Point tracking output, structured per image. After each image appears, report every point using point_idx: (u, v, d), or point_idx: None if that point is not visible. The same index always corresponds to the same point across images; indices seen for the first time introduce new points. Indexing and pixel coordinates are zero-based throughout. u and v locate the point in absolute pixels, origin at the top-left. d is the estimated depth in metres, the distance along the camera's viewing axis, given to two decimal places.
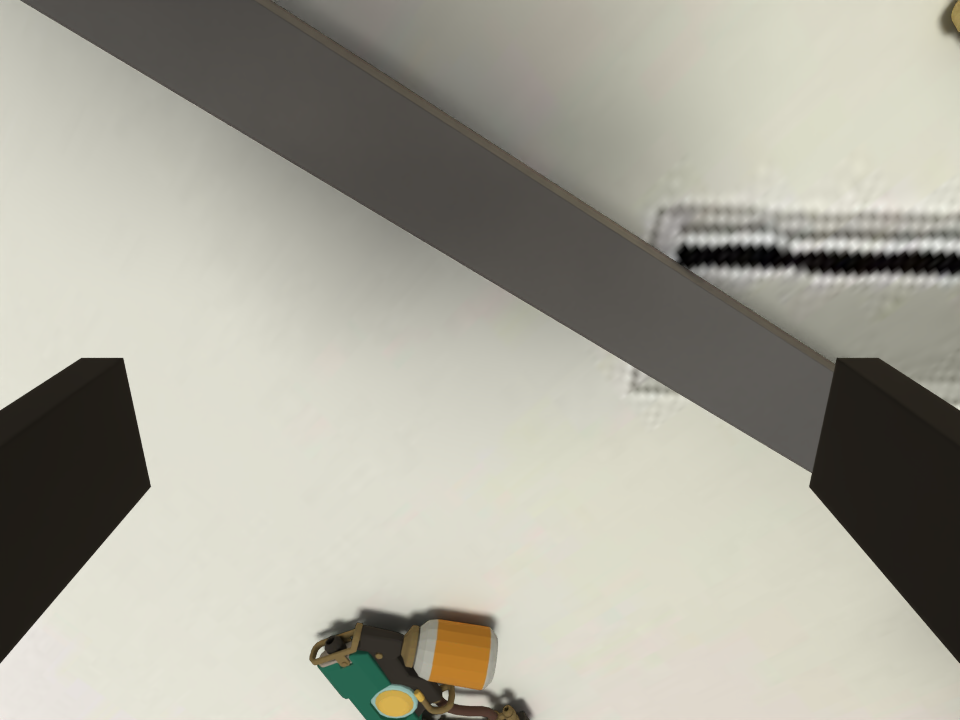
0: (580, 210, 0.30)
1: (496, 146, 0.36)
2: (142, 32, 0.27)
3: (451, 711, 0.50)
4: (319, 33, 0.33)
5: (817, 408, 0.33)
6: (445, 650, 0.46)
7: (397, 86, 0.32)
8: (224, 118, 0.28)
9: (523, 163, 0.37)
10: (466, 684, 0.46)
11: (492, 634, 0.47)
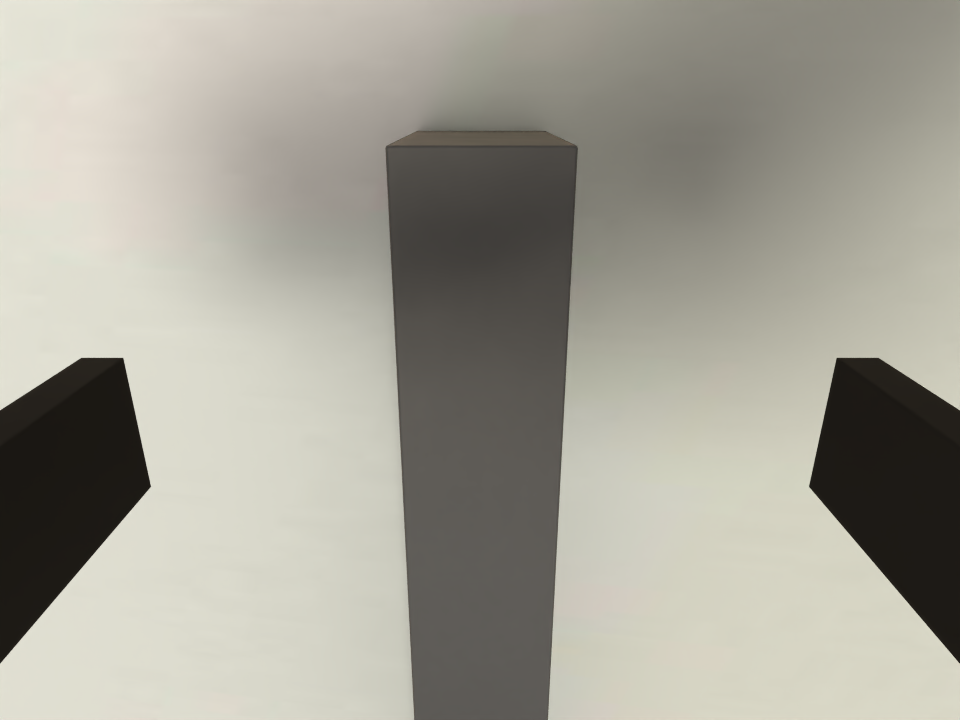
0: None
1: None
2: (452, 635, 0.23)
3: None
4: None
5: None
6: None
7: None
8: None
9: None
10: None
11: None
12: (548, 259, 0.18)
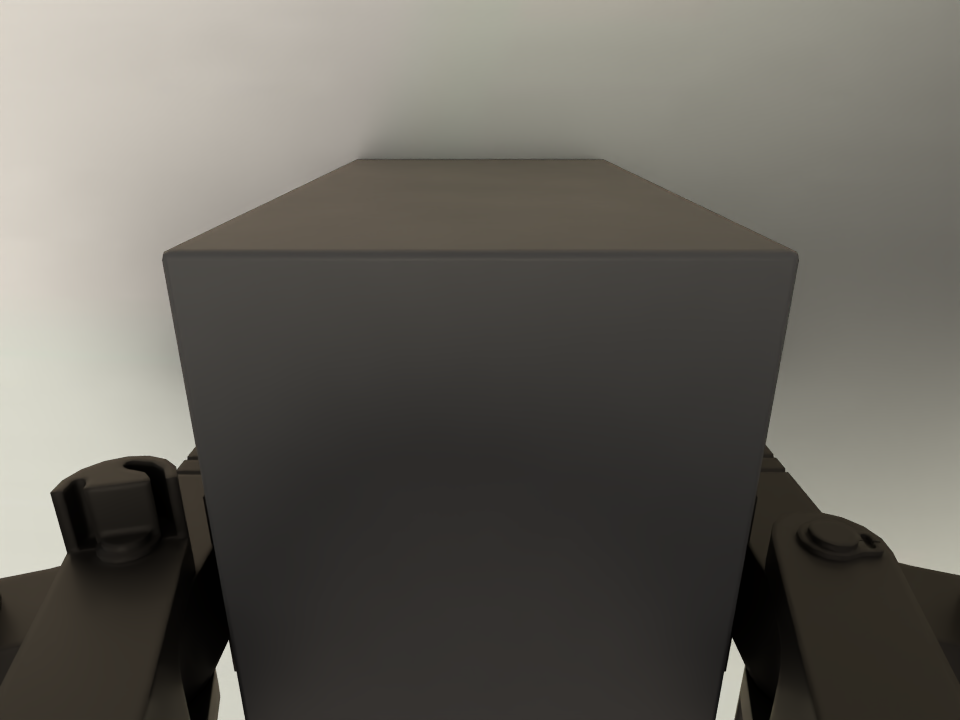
0: None
1: None
2: None
3: None
4: None
5: None
6: None
7: None
8: None
9: None
10: None
11: None
12: (677, 566, 0.06)
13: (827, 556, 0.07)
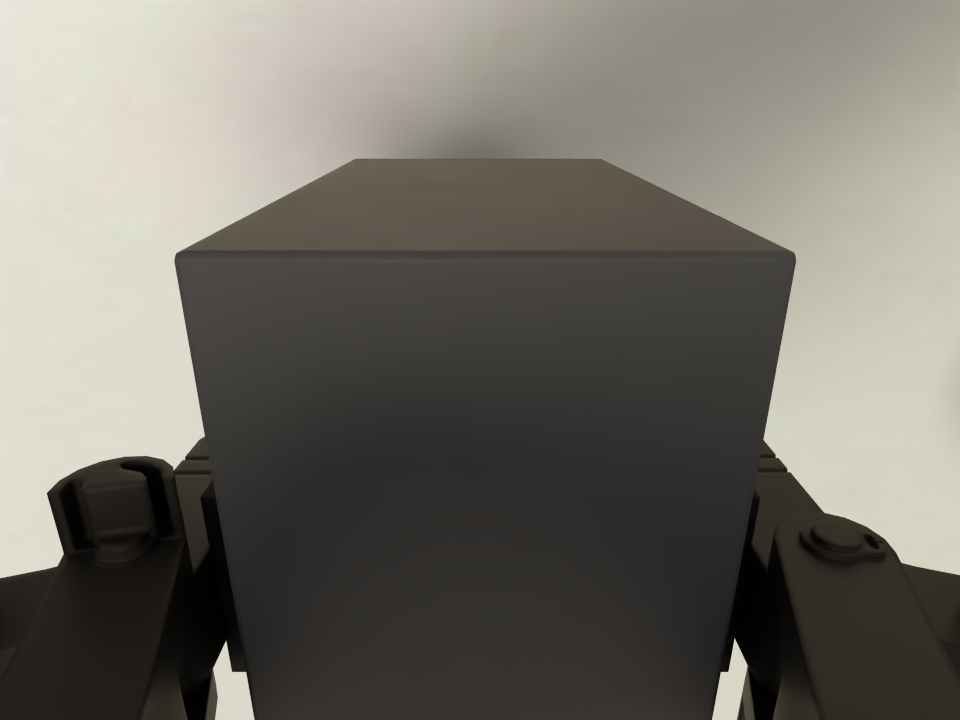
0: None
1: None
2: None
3: None
4: None
5: None
6: None
7: None
8: None
9: None
10: None
11: None
12: (679, 559, 0.06)
13: (830, 556, 0.07)
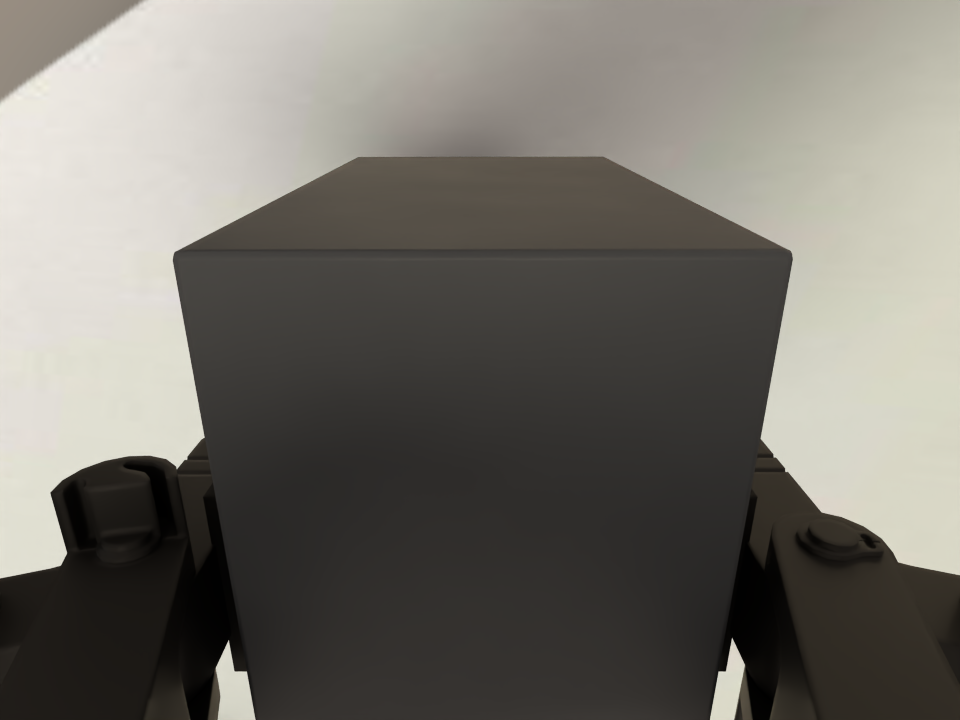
0: None
1: None
2: None
3: None
4: None
5: None
6: None
7: None
8: None
9: None
10: None
11: None
12: (676, 558, 0.06)
13: (827, 556, 0.07)
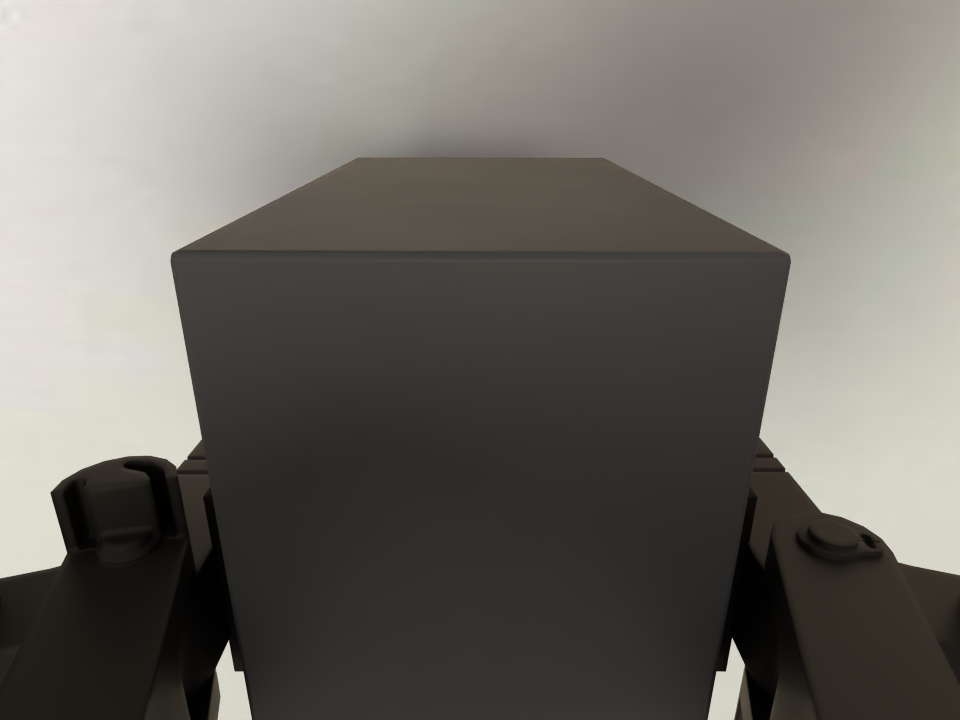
0: None
1: None
2: None
3: None
4: None
5: None
6: None
7: None
8: None
9: None
10: None
11: None
12: (673, 560, 0.06)
13: (826, 556, 0.07)
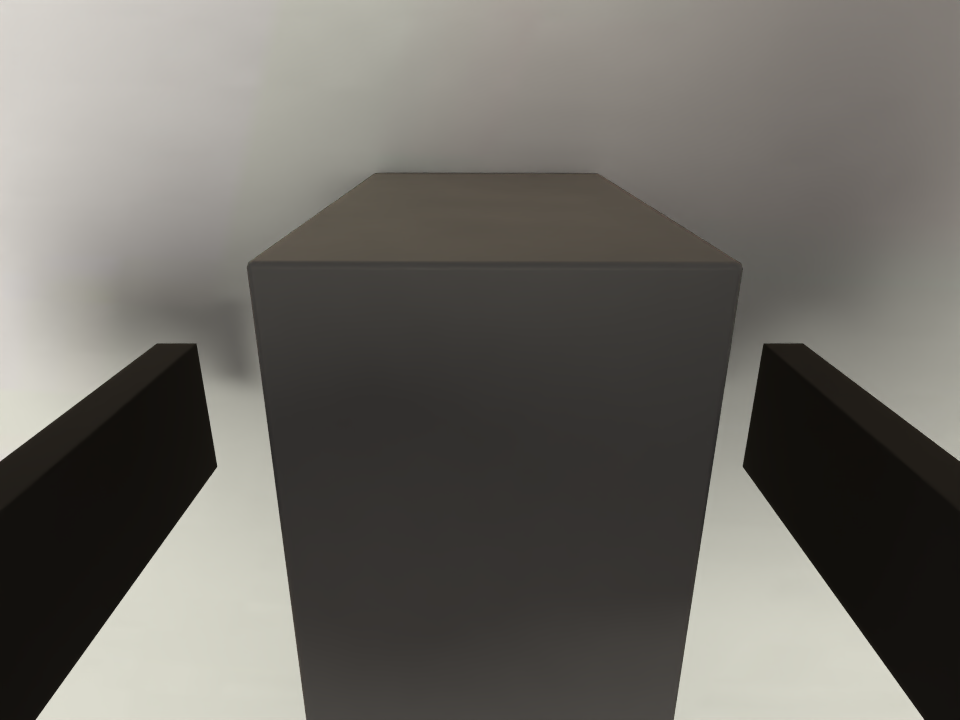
0: None
1: None
2: None
3: None
4: None
5: None
6: None
7: None
8: None
9: None
10: None
11: None
12: (652, 515, 0.08)
13: None
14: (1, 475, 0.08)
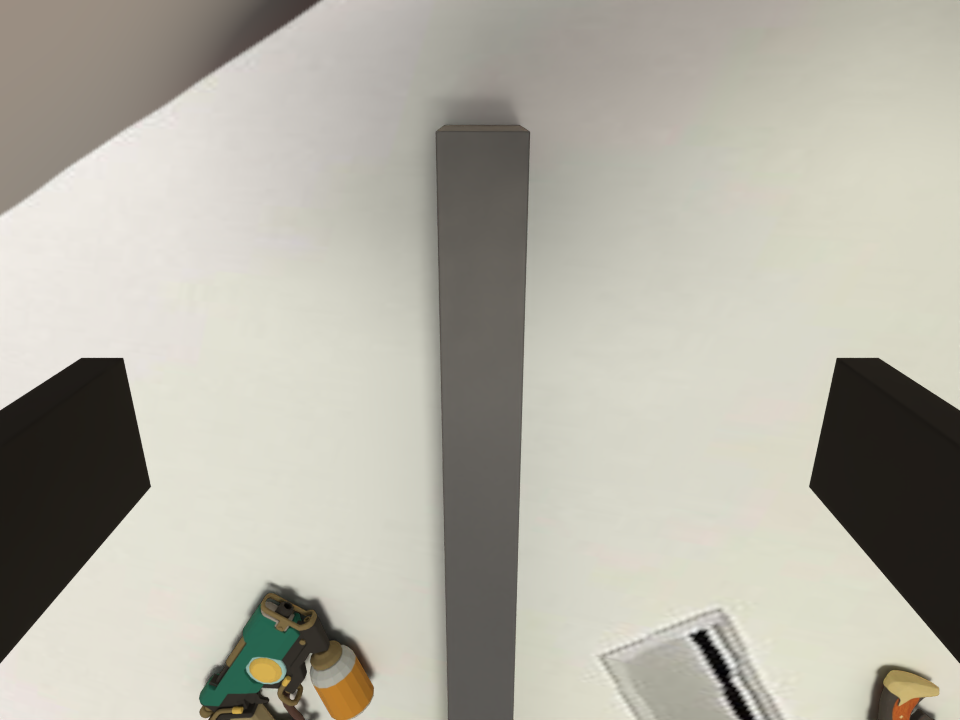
0: (514, 651, 0.48)
1: None
2: (465, 409, 0.41)
3: (285, 703, 0.58)
4: None
5: None
6: (349, 682, 0.56)
7: None
8: (445, 468, 0.42)
9: None
10: (334, 710, 0.56)
11: (373, 691, 0.58)
12: (516, 189, 0.36)
13: None
14: None
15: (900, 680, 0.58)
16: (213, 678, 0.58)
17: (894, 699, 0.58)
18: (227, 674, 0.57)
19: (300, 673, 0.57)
